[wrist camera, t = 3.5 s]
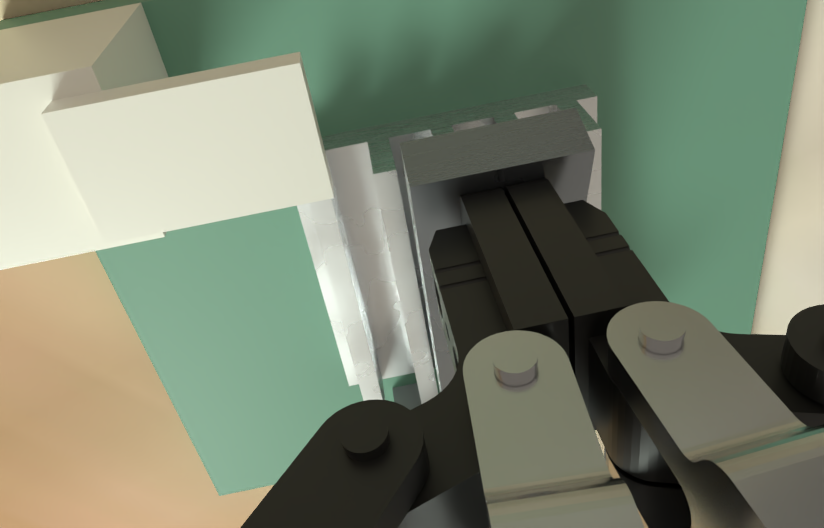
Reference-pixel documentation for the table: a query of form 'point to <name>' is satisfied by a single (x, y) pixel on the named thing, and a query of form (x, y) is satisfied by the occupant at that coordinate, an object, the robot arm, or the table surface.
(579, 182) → the thin grey panel
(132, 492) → the table surface
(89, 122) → the latch
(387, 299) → the white slotted block
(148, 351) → the board
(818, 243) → the table surface
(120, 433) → the table surface
